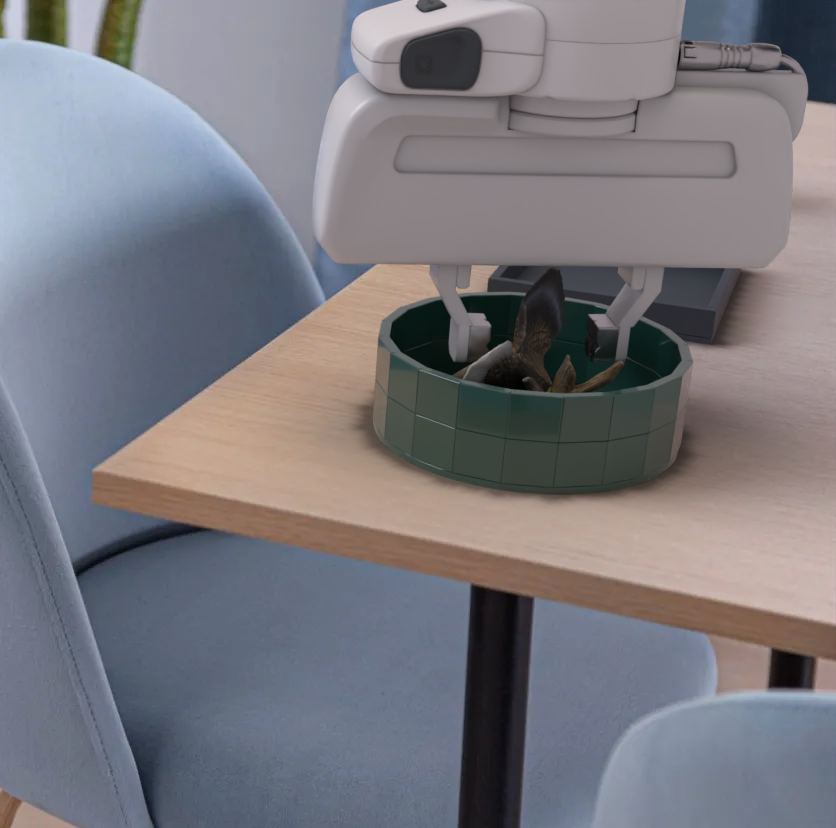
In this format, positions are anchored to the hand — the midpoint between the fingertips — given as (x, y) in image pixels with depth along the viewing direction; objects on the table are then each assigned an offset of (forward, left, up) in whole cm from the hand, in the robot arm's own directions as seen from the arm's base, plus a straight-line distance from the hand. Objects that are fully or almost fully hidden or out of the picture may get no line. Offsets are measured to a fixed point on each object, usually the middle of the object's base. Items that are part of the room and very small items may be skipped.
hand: (535, 358), depth 78 cm
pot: (0, 0, -4) cm, 4 cm away
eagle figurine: (+1, 0, -3) cm, 3 cm away
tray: (-10, -21, -4) cm, 23 cm away
